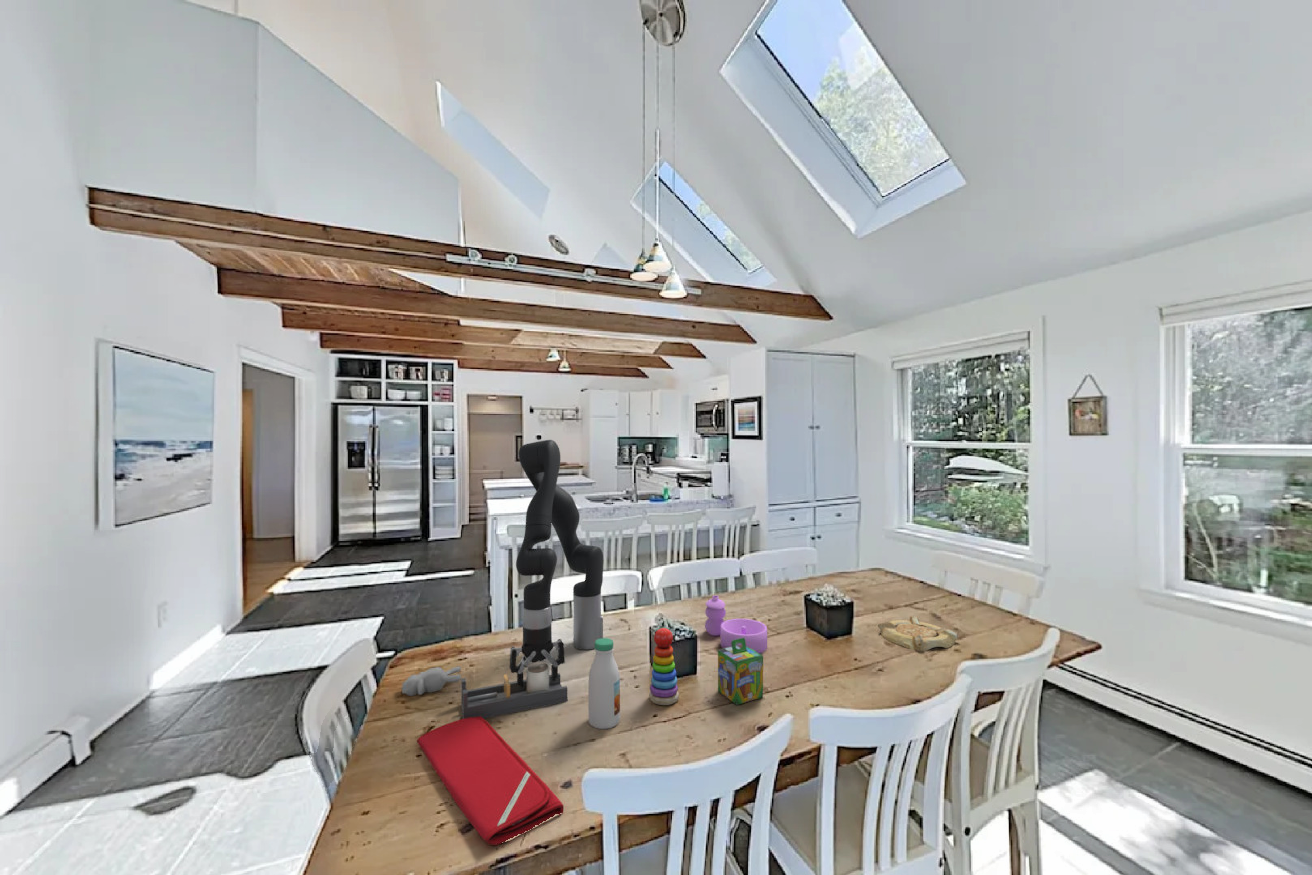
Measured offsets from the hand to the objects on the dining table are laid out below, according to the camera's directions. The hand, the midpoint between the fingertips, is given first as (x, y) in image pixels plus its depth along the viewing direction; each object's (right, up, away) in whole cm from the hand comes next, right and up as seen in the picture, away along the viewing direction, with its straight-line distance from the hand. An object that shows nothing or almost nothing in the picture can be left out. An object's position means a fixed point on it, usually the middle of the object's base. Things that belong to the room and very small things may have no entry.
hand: (537, 682), depth 142 cm
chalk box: (+55, -4, +2) cm, 55 cm away
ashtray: (+122, -4, +40) cm, 129 cm away
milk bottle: (+19, -4, -11) cm, 23 cm away
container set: (+58, -4, +38) cm, 70 cm away
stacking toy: (+34, -4, -1) cm, 34 cm away
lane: (-6, -4, -2) cm, 7 cm away
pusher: (-12, -3, -5) cm, 13 cm away
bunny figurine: (-31, -4, +5) cm, 31 cm away
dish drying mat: (-4, -5, -31) cm, 32 cm away
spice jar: (0, -3, 0) cm, 3 cm away
